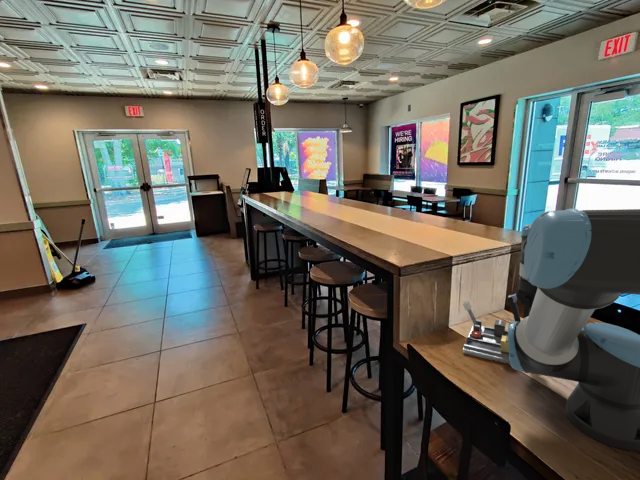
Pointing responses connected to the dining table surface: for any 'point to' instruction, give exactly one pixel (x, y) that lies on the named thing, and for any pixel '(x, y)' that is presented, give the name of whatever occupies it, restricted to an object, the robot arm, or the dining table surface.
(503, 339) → the slider brass
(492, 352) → the panel
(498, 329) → the slider black
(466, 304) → the lever
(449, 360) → the dining table surface
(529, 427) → the dining table surface
